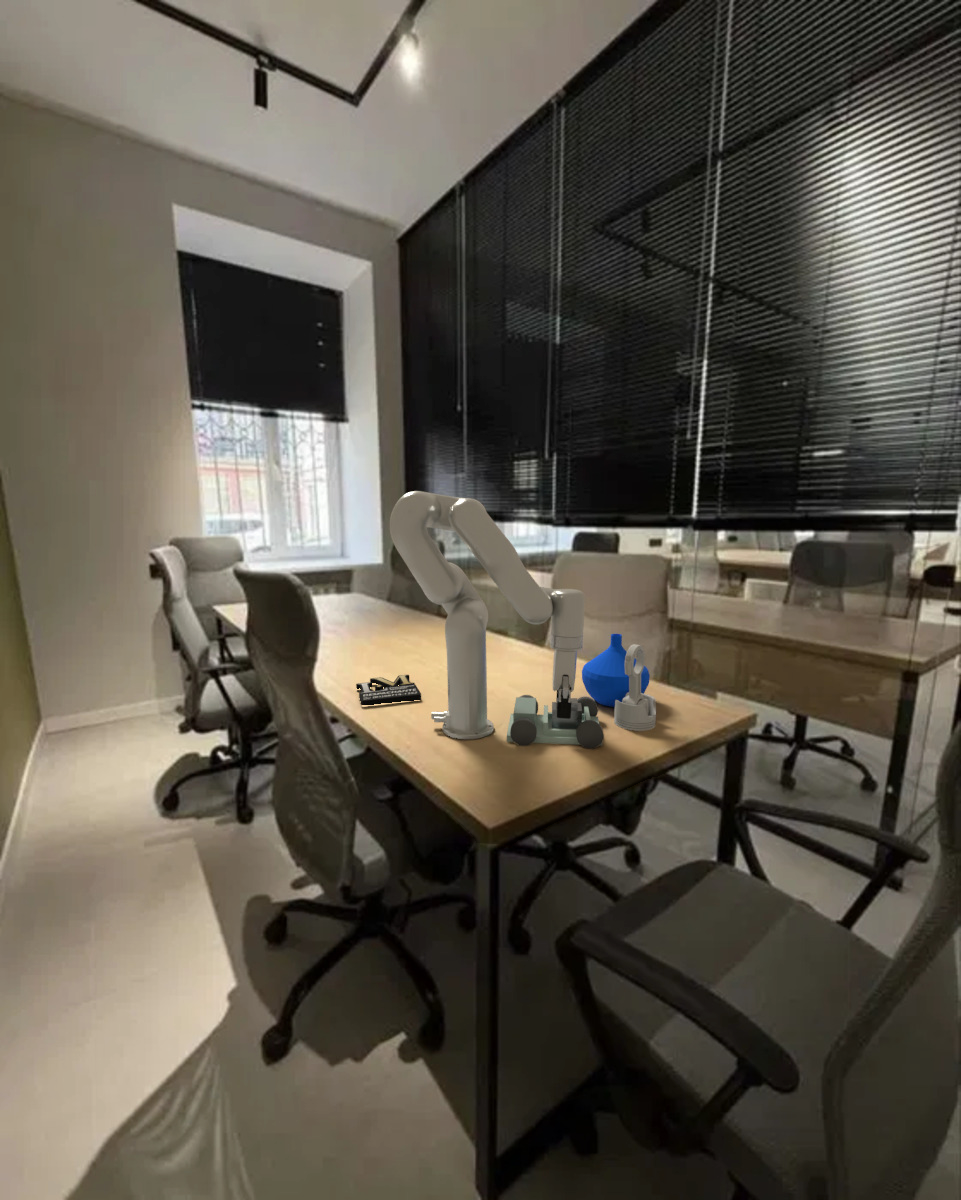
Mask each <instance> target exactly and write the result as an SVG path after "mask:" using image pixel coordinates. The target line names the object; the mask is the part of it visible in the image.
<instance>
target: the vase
mask: <svg viewBox="0 0 961 1200" xmlns="http://www.w3.org/2000/svg"><path fill="white" fill-rule="evenodd" d="M622 640H623V635H622V634H621V633H612V634H610V645H609V646H608V648H607V649H605V650H603V651H602V652H601V653H599V654H598V655H596V656H595V657H594V658H592V659H591V660H589V661H588V662H586V663H584V665H583V667H582V670H581V681H582V682H583V686H584V688H585V690H586V692H587V693H588V695H589V697H590V698H592V699H593V700H594V701H595V702H596V703H598V704H600V705H602V706H607V707H610V708H615V700H618V701H619V702H622V700H623V698H624V697H626V694H627V693H628V692H629V676H628V675H626V674H625V657H626V653H627V651H628V650H625V648H624V646H623V643H622V642H623V641H622ZM635 664H636V658H634V667H635ZM649 683H650V672H649V669H648V667H647V666H646V665H644V668H643V671H642V673H641V693H643V694H646V691H647V688H648V686H649Z"/></svg>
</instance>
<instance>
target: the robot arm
mask: <svg viewBox="0 0 961 1200" xmlns="http://www.w3.org/2000/svg"><path fill="white" fill-rule="evenodd" d="M428 528H430V529H431V528H432V529H438V530H444V531H451V532H455V534H456V535H457V536H458V537H459V539H460V540H461V541H462V542H463V543H464V544H465V546H466V547H467V548H468V549H469V551H470V552H471V553H472V554H473V556H474V557H475V558H476V560H477V561H478V562H479V564H480V565H481V566H482V567H483V568H484V570H485V572H486V573H487V575H488V576H489V578H490V579H491V580H492V581H493V582H494V583H495V585H496V586H497V588H498V589H499V591H500V592H501V593H502V595H503V596H504V598H505V599H506V600H507V601H508V603H509V604H510V605H511V606H512V608H513V609H514V610H515V611H516V613H517V614H519V616H520V617H521V618H522V619H523V620H524V621H525V622H527V623H529V624H531V625H542V624H544V623H546V622H547V621H548V620H549V619H550V618H551V625H550V642H549V643H550V645H549V647H550V648H551V649H553V650H554V652H553V665H552V691H554V692H556V698H559V701H557V718H565V719H570V718H571V698H572V692H574V688H575V681H576V675H577V674H576V672H577V659H578V656H577V655H578V652H579V651H581V650H583V646H584V644H583V643H584V623H585V606H586V605H585V603H586V595H585V593H584V591H582V590H579V589H576V588H575V589H574V588H559V589H556V588H549V587H544V586H543V587H542V586H540V585H539V584H538V583H537V582H536V580H535V579H534V578H533V576H532V575H531V574H530V572H529V571H528V569H527V568H526V566H525V565H524V563H523V562H522V560H521V557H519V554H518V552H517V550H516V548H515V547H514V545H513V544H512V542H511V541H510V540H509V539H508V537H507V536H506V535H505V534H504V532H503V531H502V530H501V529H500V528H499V526H498V525H497V524H496V522H495V521H494V519H493V518H492V517H491V516H490V515H489V513H488V512H487V510H486V507H485V506H484V505H483V504H482V503H481V502H480V501H479V500H477V499H475V498H470V497H458V496H451V495H445V494H437V493H433V492H428V491H427V492H426V491H422V490H414V491H409V492H406V493H405V494H403V495H402V496H401V497H400V498H399V499H398V500H397V501H396V503H395V505H394V506H393V509H392V511H391V513H390V518H389V532H390V537H391V540H392V542H393V545H394V547H395V549H396V550H397V552H398V554H399V555H400V557H401V558H402V560H403V562H404V563H405V565H406V566H407V568H408V569H409V572H410V573H411V574H412V576H413V578H414V579H415V581H416V582H417V584H418V586H420V588H421V590H422V591H423V594H424V595H425V596H426V598H427V599H428V600H429V601H430V602H431V603H433V604H436V605H438V606H439V605H440V606H442V608H443V609H444V611H445V612H446V614H447V616H446V618H445V623H444V636H445V644H446V645H445V646H446V647H445V648H446V664H447V665H446V667H447V668H446V670H447V704H448V705H447V706H448V707H447V709H448V710H444V711H441V712H440V711H432V712H431V717H430V718H431V720H433V721H434V723H443V724H442V726H441V727H442V732H443V734H444V735H445V736H447V735H448V737H449V736H450V737H449V738H453V739H456V738H457V740H476V739H481V738H485V737H487V736H489V735H490V734H492V733H493V731H494V729H495V728H494V723H493V722H492V721H491V720H490V719H488V690H487V689H488V686H487V685H488V683H487V682H488V681H487V679H488V677H487V672H488V671H487V670H488V669H487V668H488V667H487V637H486V636H487V627H488V626H487V625H488V622H489V611H488V608H487V606H486V604H485V602H484V600H483V599H482V598H481V596H480V595H479V593H478V592H477V590H476V589H475V586H473V584H472V582H471V580H470V579H469V578H468V576H467V575H466V573H465V572H464V571H463V569H462V568H461V567H460V566H458V565H457V564H455V563H454V562H450V561H449V562H448V561H447V559H446V557H445V556H444V555H443V553H442V552H441V550H440V548H439V547H438V545H437V543H436V542H435V541H434V539H433V538H432V537H431V536H430V534H429V531H428Z"/></svg>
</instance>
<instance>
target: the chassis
mask: <svg viewBox="0 0 961 1200" xmlns="http://www.w3.org/2000/svg"><path fill="white" fill-rule="evenodd" d="M577 702H578V703H581V707H582V722H581V723H580V724H579V725H578V727H577V729H552V711H551V712H550V711H549V704H548V705H547V704H545V705H543V714H538V712H539V703H538V700H537V697H534V696H532V695H531V694H523V695H520V696H516V697H515V703H514V708H513V713H510V716H509V722H508V727H507V733H506V742H508V743H511V742H512V743H515V744H516V745H518V746H521V747H526V746H529V745H531V744H558V745H559V744H560V745H581V747H583V748H584V749H596V748H598V747H599V746H601V747H603V746H604V744H603V742H604V736H605V735H604V730H603V728H602V727H603V726H601V725H600V722H599V716H598V713H599V712H598V711H599V710H598V704H597V701H595V700H594V699H593V698H592V697H591V696H581V697H579V698H578V697H577Z"/></svg>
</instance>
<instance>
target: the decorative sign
mask: <svg viewBox="0 0 961 1200" xmlns="http://www.w3.org/2000/svg"><path fill="white" fill-rule="evenodd" d="M372 683H376V684H378V685H376V686H374V690H371V689H370V687H372V688H373V686H372ZM398 685H399V686H398ZM355 687H356V688H357V689H359V688H360V689H361V691H360V692H359V693H358V698H360V700H359V702H360V701H361V703H360V706H361V705H374V704H381V703H392V702H401V701H414V700H421V701H422V692H421V691H420V690H419V688H418V687H417V685H416V683H415V682H410V674H400V675H398V676H397V677H396V679H395V680H394V681H391V680H389V679H386V678H384V677H381V676H379V677H372V678H371V677H370V678H369V681H368V682H361V683H359V682H358V683H356V685H355ZM383 687H384V689H383ZM356 688H355V689H356Z"/></svg>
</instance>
